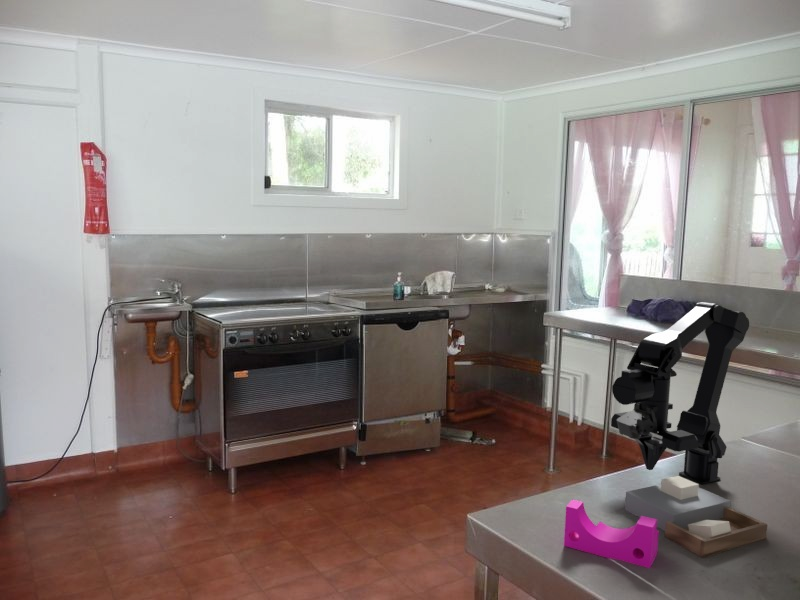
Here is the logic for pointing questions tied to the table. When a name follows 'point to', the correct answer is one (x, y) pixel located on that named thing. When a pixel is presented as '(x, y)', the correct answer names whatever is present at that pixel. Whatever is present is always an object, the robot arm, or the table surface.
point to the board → (675, 506)
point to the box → (741, 534)
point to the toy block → (611, 537)
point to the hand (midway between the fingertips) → (649, 469)
